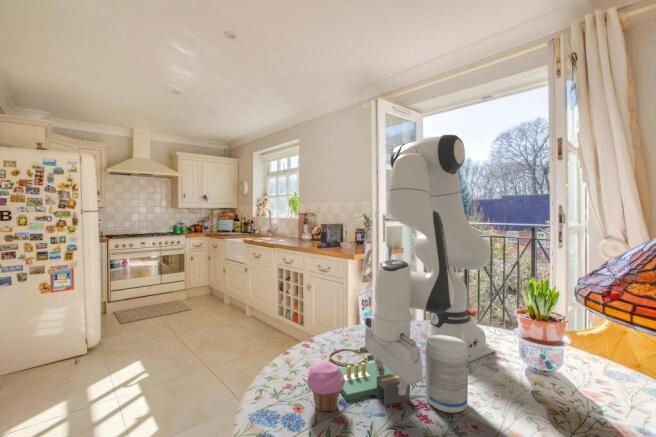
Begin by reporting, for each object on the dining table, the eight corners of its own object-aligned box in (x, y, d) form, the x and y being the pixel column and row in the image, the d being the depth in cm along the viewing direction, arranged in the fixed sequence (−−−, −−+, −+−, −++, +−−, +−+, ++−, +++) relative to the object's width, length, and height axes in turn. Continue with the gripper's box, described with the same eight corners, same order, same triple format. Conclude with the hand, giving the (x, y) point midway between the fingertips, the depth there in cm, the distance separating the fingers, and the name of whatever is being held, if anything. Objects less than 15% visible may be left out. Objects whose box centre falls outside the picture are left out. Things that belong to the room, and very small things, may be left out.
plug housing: (400, 391, 81) (400, 371, 81) (409, 399, 77) (410, 379, 77) (376, 396, 78) (376, 376, 78) (385, 405, 75) (385, 384, 75)
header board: (381, 366, 94) (381, 351, 94) (405, 386, 83) (406, 369, 83) (328, 376, 88) (328, 360, 88) (347, 400, 77) (347, 382, 76)
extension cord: (383, 367, 94) (383, 360, 94) (330, 368, 93) (330, 361, 93) (374, 350, 106) (374, 344, 106) (327, 350, 105) (327, 344, 105)
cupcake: (346, 418, 70) (347, 373, 70) (307, 419, 69) (308, 374, 69) (341, 394, 79) (342, 355, 79) (306, 396, 78) (307, 356, 78)
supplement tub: (476, 412, 73) (477, 348, 73) (439, 417, 71) (440, 352, 70) (450, 389, 82) (452, 333, 82) (417, 393, 80) (418, 335, 80)
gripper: (430, 341, 69) (428, 404, 69) (381, 314, 88) (379, 363, 88) (406, 345, 67) (404, 410, 67) (361, 315, 86) (359, 366, 86)
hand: (389, 383), depth 78 cm, fingers open, 8 cm apart
